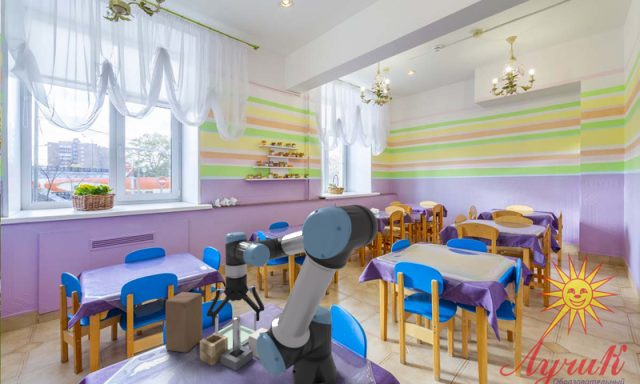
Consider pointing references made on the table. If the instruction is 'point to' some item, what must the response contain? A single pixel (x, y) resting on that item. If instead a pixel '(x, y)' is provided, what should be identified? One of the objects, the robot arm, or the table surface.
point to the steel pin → (236, 336)
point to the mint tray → (229, 333)
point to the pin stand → (235, 362)
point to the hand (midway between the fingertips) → (236, 331)
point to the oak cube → (213, 348)
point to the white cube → (255, 340)
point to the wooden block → (183, 321)
